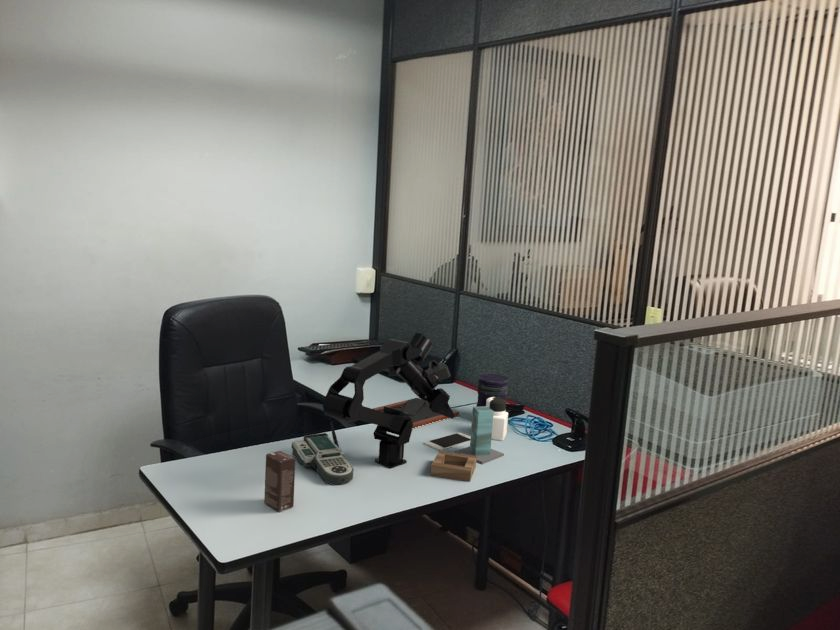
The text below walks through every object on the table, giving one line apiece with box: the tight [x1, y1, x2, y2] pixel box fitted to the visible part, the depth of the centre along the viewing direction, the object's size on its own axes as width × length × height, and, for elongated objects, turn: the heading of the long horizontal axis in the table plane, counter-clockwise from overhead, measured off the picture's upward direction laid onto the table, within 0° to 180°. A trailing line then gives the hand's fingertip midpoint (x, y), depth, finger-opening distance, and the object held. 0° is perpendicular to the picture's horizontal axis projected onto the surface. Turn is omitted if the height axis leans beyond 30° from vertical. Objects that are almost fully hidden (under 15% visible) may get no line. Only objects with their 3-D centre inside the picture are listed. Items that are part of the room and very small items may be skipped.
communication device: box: [291, 421, 355, 486], centre depth 179 cm, size 12×24×9 cm, turn 27°
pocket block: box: [430, 450, 477, 482], centre depth 182 cm, size 10×10×3 cm
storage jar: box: [475, 373, 509, 412], centre depth 223 cm, size 10×10×15 cm
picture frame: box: [372, 397, 460, 429], centre depth 227 cm, size 20×2×25 cm
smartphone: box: [423, 431, 471, 451], centre depth 204 cm, size 7×16×1 cm, turn 133°
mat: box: [454, 445, 505, 465], centre depth 195 cm, size 10×10×1 cm
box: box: [263, 450, 296, 513], centre depth 156 cm, size 6×4×12 cm
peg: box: [469, 406, 494, 456], centre depth 194 cm, size 4×4×13 cm
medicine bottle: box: [486, 397, 509, 442], centre depth 210 cm, size 7×7×12 cm
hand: (448, 412), depth 191 cm, fingers open, 9 cm apart
